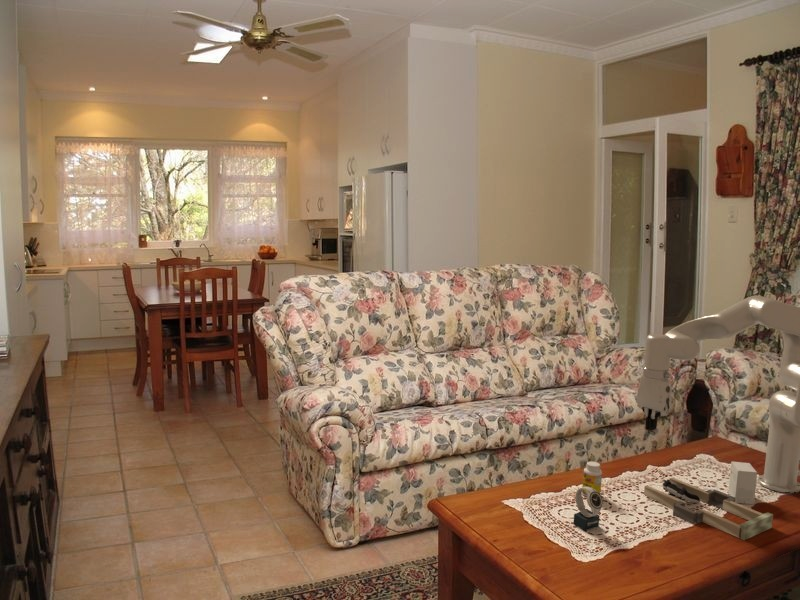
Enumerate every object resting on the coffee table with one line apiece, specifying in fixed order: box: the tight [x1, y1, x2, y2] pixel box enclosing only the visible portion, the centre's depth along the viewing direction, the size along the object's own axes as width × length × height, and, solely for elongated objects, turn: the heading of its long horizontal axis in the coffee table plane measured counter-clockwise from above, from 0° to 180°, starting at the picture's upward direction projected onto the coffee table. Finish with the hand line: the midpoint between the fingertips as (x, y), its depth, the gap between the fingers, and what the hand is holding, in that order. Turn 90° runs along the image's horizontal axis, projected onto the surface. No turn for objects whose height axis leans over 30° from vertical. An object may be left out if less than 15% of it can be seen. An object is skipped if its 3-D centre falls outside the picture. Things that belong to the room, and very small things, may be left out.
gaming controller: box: [662, 478, 701, 504], centre depth 217 cm, size 11×4×7 cm
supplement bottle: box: [581, 461, 603, 498], centre depth 217 cm, size 6×6×10 cm
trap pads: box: [706, 500, 723, 510], centre depth 209 cm, size 18×5×1 cm, turn 124°
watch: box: [573, 487, 604, 532], centre depth 197 cm, size 6×8×11 cm
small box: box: [727, 461, 758, 505], centre depth 217 cm, size 8×6×10 cm
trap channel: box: [643, 477, 774, 541], centre depth 208 cm, size 21×33×4 cm, turn 34°
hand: (650, 429), depth 222 cm, fingers closed
